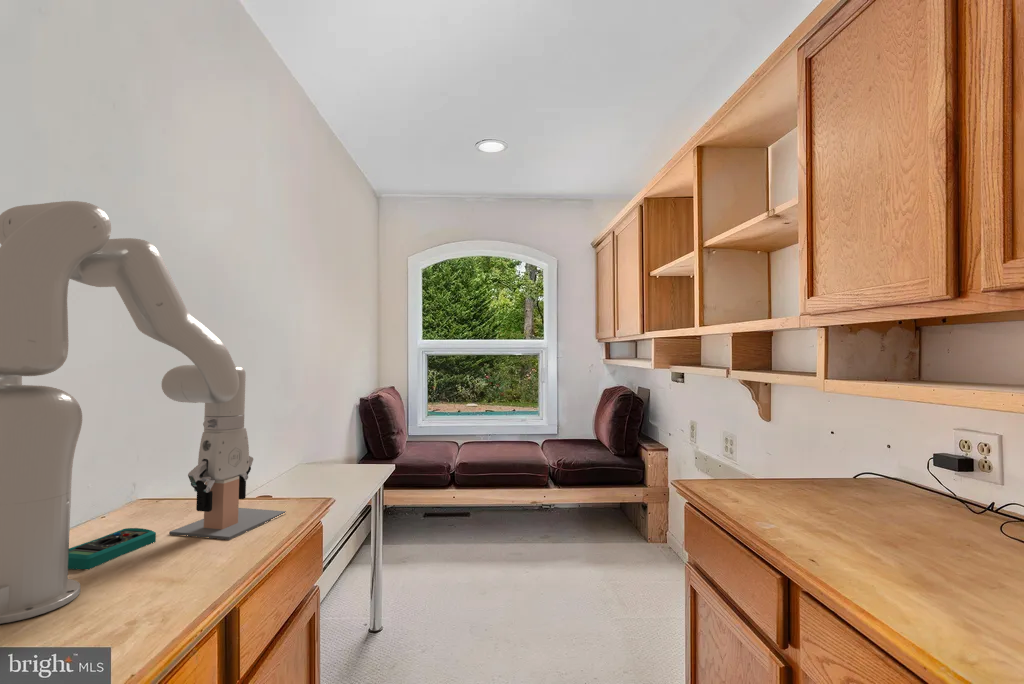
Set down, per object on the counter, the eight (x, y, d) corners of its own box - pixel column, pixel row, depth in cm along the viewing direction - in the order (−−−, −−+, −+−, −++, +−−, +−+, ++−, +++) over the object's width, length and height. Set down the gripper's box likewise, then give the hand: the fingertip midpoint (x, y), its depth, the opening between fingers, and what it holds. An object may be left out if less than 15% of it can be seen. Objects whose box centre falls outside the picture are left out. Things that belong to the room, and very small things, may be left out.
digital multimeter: (159, 543, 102) (159, 528, 102) (86, 573, 87) (87, 555, 87) (126, 540, 103) (127, 525, 103) (49, 570, 88) (50, 552, 88)
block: (222, 529, 107) (223, 480, 107) (203, 527, 108) (205, 479, 108) (237, 522, 111) (239, 475, 112) (219, 521, 112) (221, 474, 113)
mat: (229, 540, 102) (229, 536, 102) (169, 534, 105) (169, 531, 105) (285, 513, 120) (286, 511, 120) (233, 509, 123) (233, 507, 123)
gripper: (208, 429, 101) (205, 517, 101) (266, 419, 118) (264, 495, 118) (175, 428, 103) (172, 515, 102) (238, 418, 120) (235, 493, 119)
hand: (221, 504), depth 110 cm, fingers open, 9 cm apart
